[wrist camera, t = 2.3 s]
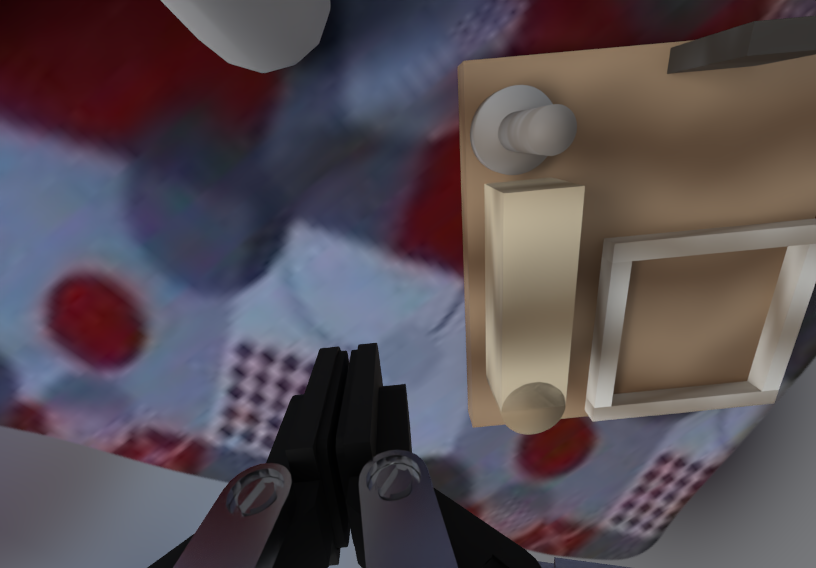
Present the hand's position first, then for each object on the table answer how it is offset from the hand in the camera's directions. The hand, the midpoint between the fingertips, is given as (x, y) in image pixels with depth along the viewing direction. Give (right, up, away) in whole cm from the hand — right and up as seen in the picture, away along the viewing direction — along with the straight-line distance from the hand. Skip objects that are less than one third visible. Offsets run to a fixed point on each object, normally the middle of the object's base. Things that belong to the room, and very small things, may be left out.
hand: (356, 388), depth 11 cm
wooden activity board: (+14, +5, +10) cm, 18 cm away
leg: (+7, +2, +7) cm, 10 cm away
